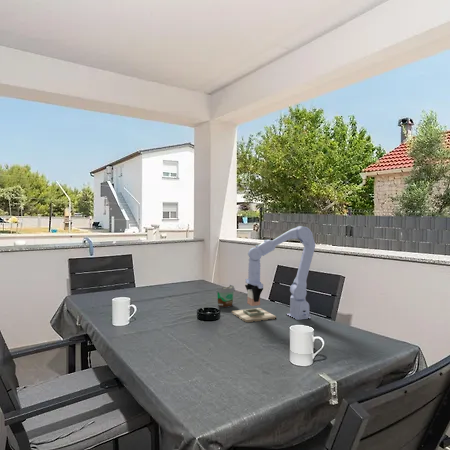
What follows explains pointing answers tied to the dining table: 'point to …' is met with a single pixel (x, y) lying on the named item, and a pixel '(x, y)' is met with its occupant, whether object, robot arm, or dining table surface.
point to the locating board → (253, 314)
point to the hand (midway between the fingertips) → (253, 300)
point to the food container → (225, 296)
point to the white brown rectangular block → (251, 299)
